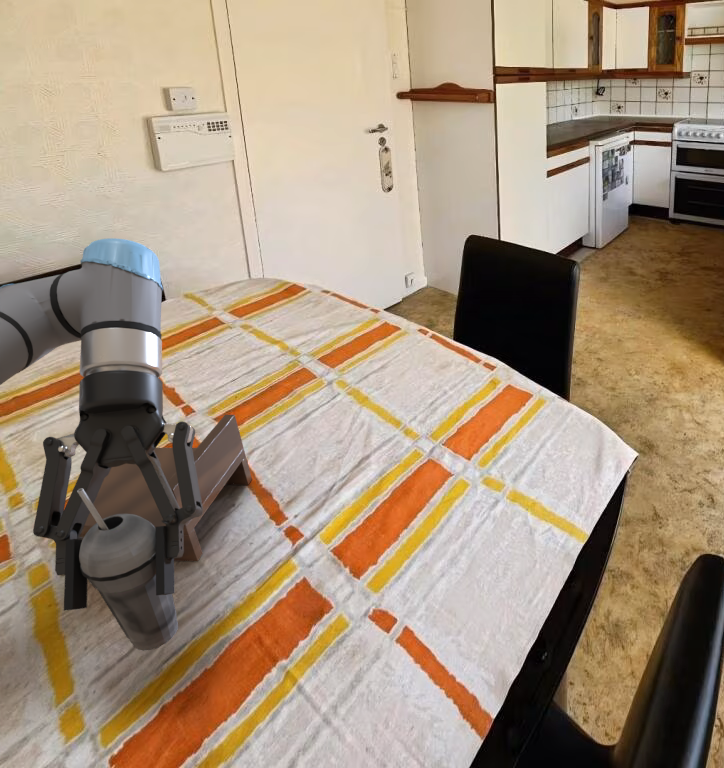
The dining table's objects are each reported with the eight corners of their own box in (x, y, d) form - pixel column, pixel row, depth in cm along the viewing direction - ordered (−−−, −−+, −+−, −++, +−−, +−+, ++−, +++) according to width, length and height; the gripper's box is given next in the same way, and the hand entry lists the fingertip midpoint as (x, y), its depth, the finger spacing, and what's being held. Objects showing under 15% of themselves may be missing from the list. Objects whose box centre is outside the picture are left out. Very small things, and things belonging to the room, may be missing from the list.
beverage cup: (197, 640, 67) (143, 491, 57) (120, 674, 63) (49, 521, 54) (185, 596, 72) (134, 454, 62) (113, 626, 68) (47, 479, 59)
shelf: (66, 560, 84) (32, 488, 78) (141, 478, 99) (117, 414, 94) (197, 561, 83) (172, 489, 77) (252, 479, 99) (234, 414, 93)
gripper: (231, 378, 72) (240, 583, 66) (36, 399, 68) (26, 618, 62) (212, 356, 65) (220, 583, 59) (-7, 378, 61) (-23, 623, 55)
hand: (121, 601), depth 60 cm, fingers closed on beverage cup, 7 cm apart
